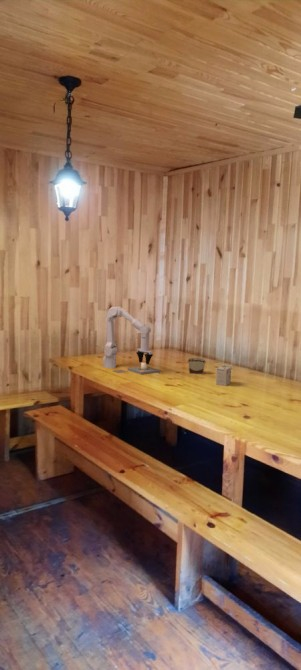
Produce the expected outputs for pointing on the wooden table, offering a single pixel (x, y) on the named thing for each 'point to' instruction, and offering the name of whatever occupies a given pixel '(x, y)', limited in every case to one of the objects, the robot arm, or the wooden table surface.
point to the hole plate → (148, 371)
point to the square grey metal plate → (120, 371)
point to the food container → (196, 365)
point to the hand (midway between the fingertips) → (144, 363)
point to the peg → (143, 366)
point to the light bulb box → (223, 375)
